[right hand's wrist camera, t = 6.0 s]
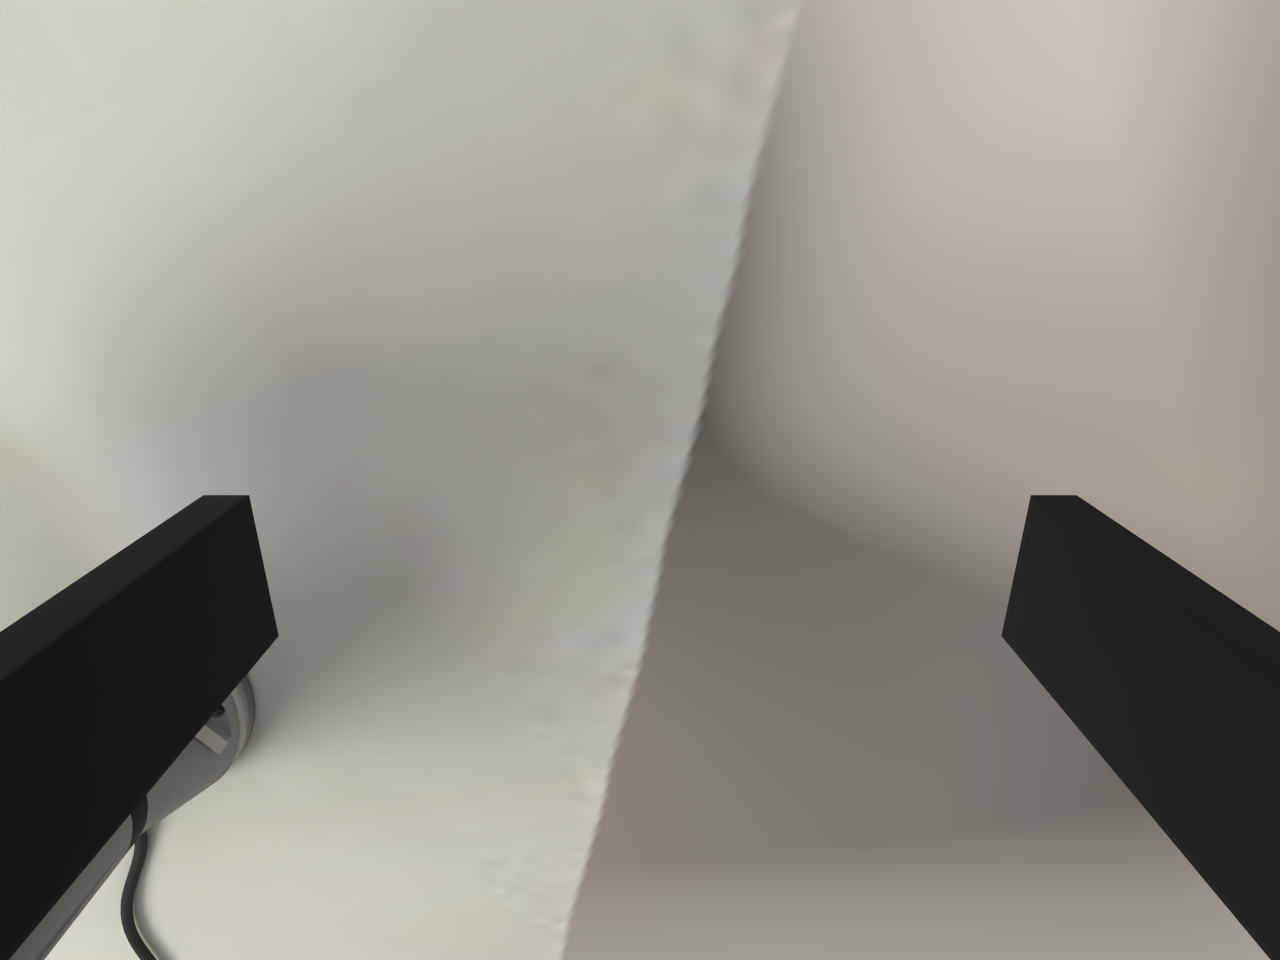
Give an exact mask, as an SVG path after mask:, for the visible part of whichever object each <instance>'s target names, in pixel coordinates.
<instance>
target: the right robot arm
mask: <svg viewBox="0 0 1280 960" xmlns="http://www.w3.org/2000/svg"><path fill="white" fill-rule="evenodd" d="M277 637H278V631H277V627H276V622H275V617H274V612H273V608H272V603H271V598H270V593H269V588H268V584H267V579H266V574H265V569H264V565H263V560H262V555H261V550H260V545H259V541H258V536H257V531H256V526H255V522H254V517H253V512H252V507H251V502H250V498H249V495H203V496H202V497H200V498H199V499H197V500H196V501H194V502H193V503H191V504H190V505H188V506H187V507H185V508H184V509H182V510H181V511H179V512H178V513H177V514H175V515H174V516H172V517H171V518H169V519H168V520H166V521H165V522H163V523H162V524H160V525H159V526H157V527H156V528H154V529H153V530H151V531H150V532H148V533H147V534H145V535H144V536H142V537H141V538H139V539H138V540H136V541H135V542H133V543H132V544H130V545H129V546H128V547H126V548H125V549H123V550H122V551H120V552H119V553H117V554H116V555H114V556H113V557H111V558H110V559H108V560H107V561H105V562H104V563H102V564H101V565H99V566H98V567H96V568H95V569H93V570H92V571H90V572H89V573H87V574H86V575H84V576H83V577H81V578H80V579H78V580H77V581H76V582H74V583H73V584H71V585H70V586H68V587H67V588H65V589H64V590H62V591H61V592H59V593H58V594H56V595H55V596H53V597H52V598H50V599H49V600H47V601H46V602H44V603H43V604H41V605H40V606H38V607H37V608H35V609H34V610H32V611H31V612H29V613H28V614H27V615H25V616H24V617H22V618H21V619H19V620H18V621H16V622H15V623H13V624H12V625H10V626H9V627H7V628H6V629H4V630H3V631H1V632H0V960H44V959H45V958H46V957H47V955H48V954H49V953H50V951H51V950H52V949H53V948H54V946H55V945H56V944H57V942H58V941H59V940H60V939H61V937H62V936H63V935H64V933H65V932H66V931H67V930H68V928H69V927H70V926H71V924H72V923H73V922H74V920H75V919H76V918H77V917H78V915H79V914H80V913H81V911H82V910H83V909H84V908H85V906H86V905H87V904H88V902H89V901H90V900H91V899H92V897H93V896H94V895H95V893H96V892H97V891H98V890H99V888H100V887H101V886H102V884H103V883H104V882H105V880H106V879H107V878H108V877H109V875H110V874H111V873H112V871H113V870H114V869H115V868H116V866H117V865H118V864H119V862H120V861H121V860H122V859H123V857H124V856H125V854H126V853H127V852H128V851H129V849H130V848H131V847H132V846H133V844H134V843H135V848H134V855H133V860H132V863H131V867H130V870H129V873H128V876H127V879H126V882H125V886H124V889H123V894H122V899H121V920H122V925H123V929H124V932H125V934H126V937H127V939H128V941H129V943H130V945H131V946H132V948H133V950H134V951H135V953H136V954H137V956H138V957H139V958H140V960H156V958H155V957H154V956H153V955H152V953H151V952H150V951H149V949H148V948H147V947H146V945H145V944H144V942H143V941H142V939H141V937H140V935H139V933H138V931H137V929H136V926H135V922H134V918H133V896H134V891H135V887H136V884H137V880H138V877H139V874H140V871H141V868H142V865H143V862H144V858H145V854H146V848H147V832H146V830H147V829H149V828H150V827H152V826H153V825H155V824H156V823H157V822H159V821H160V820H162V819H163V818H165V817H166V816H168V815H169V814H170V813H172V812H173V811H175V810H176V809H178V808H179V807H180V806H182V805H183V804H185V803H186V802H188V801H189V800H191V799H192V798H193V797H195V796H196V795H198V794H199V793H201V792H202V791H203V790H205V789H206V788H208V787H209V786H211V785H212V784H213V783H215V782H216V781H217V780H218V779H220V778H221V777H222V776H223V775H224V774H225V772H226V771H227V770H228V769H229V767H230V766H231V765H232V763H233V762H234V760H235V759H236V758H237V756H238V755H239V754H240V752H241V751H242V749H243V748H244V746H245V745H246V743H247V741H248V738H249V736H250V733H251V730H252V726H253V720H254V706H253V698H252V694H251V690H250V687H249V684H248V682H247V679H246V677H245V676H246V674H247V673H248V672H249V671H250V670H251V668H252V667H253V666H254V665H255V664H256V662H257V661H258V660H259V659H260V658H261V656H262V655H263V654H264V653H265V652H266V650H267V649H268V648H269V647H270V646H271V644H272V643H273V642H274V641H275V640H276V638H277ZM1002 637H1003V638H1004V640H1005V641H1006V642H1007V643H1008V644H1009V646H1010V647H1011V648H1012V649H1013V650H1014V652H1015V653H1016V654H1017V655H1018V656H1019V658H1020V659H1021V660H1022V661H1023V662H1024V664H1025V665H1026V666H1027V667H1028V668H1029V670H1030V671H1031V672H1032V673H1033V674H1034V676H1035V677H1036V678H1037V679H1038V680H1039V682H1040V683H1041V684H1042V685H1043V686H1044V688H1045V689H1046V690H1047V691H1048V692H1049V694H1050V695H1051V696H1052V697H1053V698H1054V700H1055V701H1056V702H1057V703H1058V704H1059V706H1060V707H1061V708H1062V709H1063V710H1064V712H1065V713H1066V714H1067V715H1068V717H1069V718H1070V719H1071V720H1072V721H1073V723H1074V724H1075V725H1076V726H1077V727H1078V728H1079V730H1080V731H1081V732H1082V733H1083V735H1084V736H1085V737H1086V738H1087V739H1088V741H1089V742H1090V743H1091V744H1092V745H1093V746H1094V748H1095V749H1096V750H1097V751H1098V753H1099V754H1100V755H1101V756H1102V757H1103V759H1104V760H1105V761H1106V762H1107V763H1108V765H1109V766H1110V767H1111V768H1112V769H1113V771H1114V772H1115V773H1116V774H1117V775H1118V777H1119V778H1120V779H1121V780H1122V781H1123V783H1124V784H1125V785H1126V786H1127V787H1128V789H1129V790H1130V791H1131V792H1132V793H1133V795H1134V796H1135V797H1136V798H1137V799H1138V801H1139V802H1140V803H1141V804H1142V805H1143V807H1144V808H1145V809H1146V810H1147V811H1148V813H1149V814H1150V815H1151V816H1152V817H1153V819H1154V820H1155V821H1156V822H1157V823H1158V825H1159V826H1160V827H1161V828H1162V829H1163V831H1164V832H1165V833H1166V834H1167V835H1168V837H1169V838H1170V839H1171V840H1172V841H1173V843H1174V844H1175V845H1176V846H1177V848H1178V849H1179V850H1180V851H1181V852H1182V853H1183V855H1184V856H1185V857H1186V858H1187V860H1188V861H1189V862H1190V863H1191V864H1192V866H1193V867H1194V868H1195V869H1196V870H1197V872H1198V873H1199V874H1200V875H1201V876H1202V878H1203V879H1204V880H1205V881H1206V882H1207V884H1208V885H1209V886H1210V887H1211V888H1212V890H1213V891H1214V892H1215V893H1216V894H1217V896H1218V897H1219V898H1220V899H1221V900H1222V902H1223V903H1224V904H1225V905H1226V906H1227V908H1228V909H1229V910H1230V911H1231V912H1232V914H1233V915H1234V916H1235V917H1236V918H1237V920H1238V921H1239V922H1240V923H1241V924H1242V926H1243V927H1244V928H1245V929H1246V930H1247V932H1248V933H1249V934H1250V935H1251V936H1252V938H1253V939H1254V940H1255V941H1256V942H1257V944H1258V945H1259V946H1260V947H1261V948H1262V950H1263V951H1264V952H1265V953H1266V955H1267V956H1268V957H1269V958H1270V959H1271V960H1280V632H1279V631H1277V630H1276V629H1274V628H1273V627H1271V626H1270V625H1268V624H1267V623H1265V622H1264V621H1262V620H1261V619H1259V618H1258V617H1256V616H1255V615H1253V614H1252V613H1251V612H1249V611H1248V610H1246V609H1245V608H1243V607H1242V606H1240V605H1239V604H1237V603H1236V602H1234V601H1233V600H1231V599H1230V598H1228V597H1227V596H1225V595H1224V594H1222V593H1221V592H1219V591H1218V590H1216V589H1215V588H1213V587H1212V586H1210V585H1209V584H1207V583H1206V582H1204V581H1203V580H1201V579H1200V578H1199V577H1197V576H1196V575H1194V574H1193V573H1191V572H1190V571H1188V570H1187V569H1185V568H1184V567H1182V566H1181V565H1179V564H1178V563H1176V562H1175V561H1173V560H1172V559H1170V558H1169V557H1167V556H1166V555H1164V554H1163V553H1161V552H1160V551H1158V550H1157V549H1155V548H1154V547H1152V546H1151V545H1149V544H1148V543H1147V542H1145V541H1144V540H1142V539H1141V538H1139V537H1138V536H1136V535H1135V534H1133V533H1132V532H1130V531H1129V530H1127V529H1126V528H1124V527H1123V526H1121V525H1120V524H1118V523H1117V522H1115V521H1114V520H1112V519H1111V518H1109V517H1108V516H1106V515H1105V514H1103V513H1102V512H1100V511H1099V510H1098V509H1096V508H1095V507H1093V506H1092V505H1090V504H1089V503H1087V502H1086V501H1084V500H1083V499H1081V498H1080V497H1078V496H1077V495H1031V498H1030V502H1029V508H1028V512H1027V517H1026V522H1025V526H1024V531H1023V536H1022V541H1021V545H1020V550H1019V555H1018V560H1017V565H1016V569H1015V574H1014V579H1013V584H1012V588H1011V593H1010V598H1009V603H1008V607H1007V612H1006V617H1005V622H1004V627H1003V631H1002Z"/></svg>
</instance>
